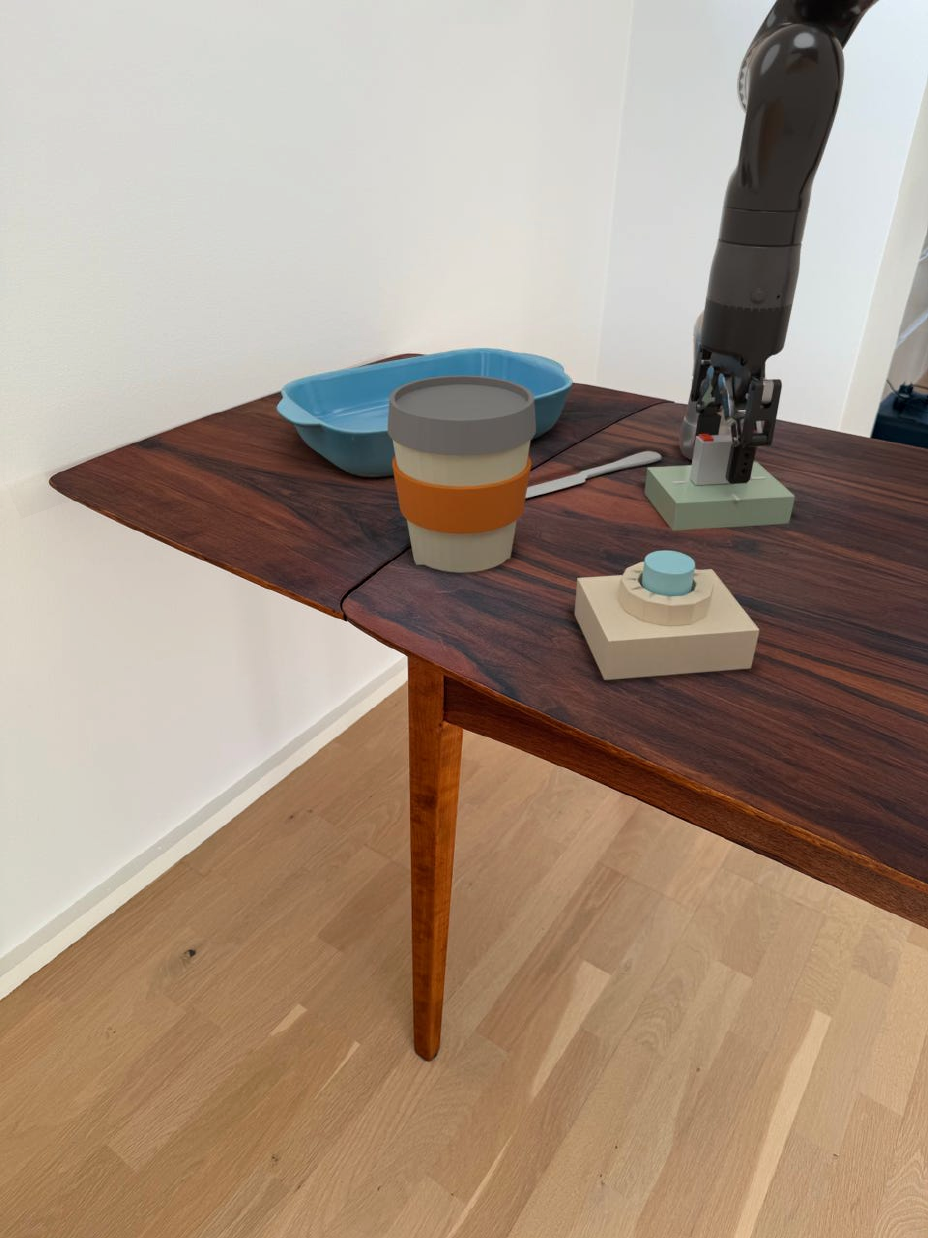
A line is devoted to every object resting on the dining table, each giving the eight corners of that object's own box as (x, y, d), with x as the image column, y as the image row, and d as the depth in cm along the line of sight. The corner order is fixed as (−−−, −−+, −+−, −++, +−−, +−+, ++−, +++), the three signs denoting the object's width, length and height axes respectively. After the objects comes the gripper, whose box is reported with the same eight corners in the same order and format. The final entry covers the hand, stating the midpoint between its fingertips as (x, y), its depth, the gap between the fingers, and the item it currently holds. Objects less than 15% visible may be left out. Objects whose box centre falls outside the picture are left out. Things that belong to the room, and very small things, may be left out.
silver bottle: (709, 474, 95) (740, 285, 84) (663, 456, 99) (687, 274, 88) (746, 461, 98) (780, 277, 87) (700, 444, 102) (727, 268, 92)
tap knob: (741, 475, 87) (749, 430, 84) (748, 482, 85) (757, 437, 83) (689, 478, 86) (696, 433, 83) (695, 485, 84) (702, 440, 82)
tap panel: (750, 486, 92) (755, 458, 90) (790, 525, 84) (797, 496, 82) (642, 492, 91) (646, 464, 89) (673, 532, 82) (677, 502, 81)
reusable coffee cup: (558, 556, 78) (568, 396, 70) (460, 606, 71) (459, 433, 63) (463, 514, 86) (463, 366, 78) (366, 555, 78) (354, 395, 70)
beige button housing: (704, 613, 70) (715, 548, 67) (749, 677, 62) (764, 608, 59) (573, 622, 69) (578, 557, 65) (603, 689, 61) (611, 619, 58)
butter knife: (668, 456, 98) (650, 449, 100) (497, 505, 87) (480, 495, 89) (667, 460, 98) (649, 452, 100) (496, 508, 87) (480, 498, 89)
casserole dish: (331, 504, 88) (325, 438, 84) (253, 440, 104) (245, 382, 100) (604, 436, 105) (609, 378, 101) (501, 390, 121) (502, 338, 117)
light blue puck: (681, 572, 64) (685, 548, 63) (698, 596, 61) (702, 571, 60) (635, 575, 64) (638, 551, 63) (650, 600, 61) (653, 575, 60)
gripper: (828, 312, 70) (787, 492, 79) (756, 278, 82) (728, 438, 91) (741, 314, 70) (710, 496, 78) (682, 280, 82) (660, 441, 90)
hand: (719, 465), depth 85 cm, fingers open, 8 cm apart
